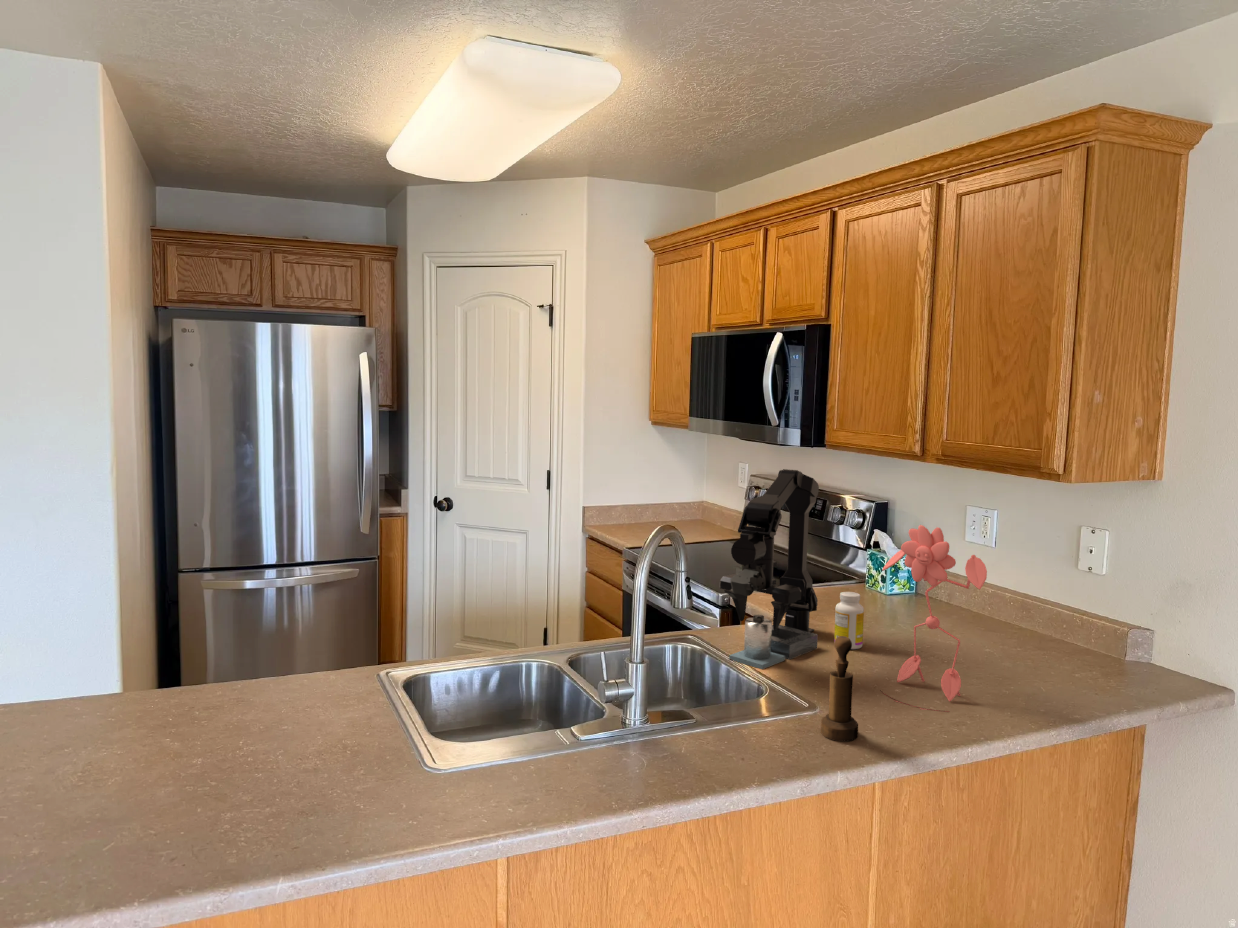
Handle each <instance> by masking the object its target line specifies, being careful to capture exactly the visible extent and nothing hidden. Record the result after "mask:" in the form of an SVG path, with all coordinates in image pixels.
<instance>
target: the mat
mask: <svg viewBox="0 0 1238 928" xmlns="http://www.w3.org/2000/svg"><path fill="white" fill-rule="evenodd" d="M728 659H732V660H731V661H733V660H734V661H733V662H736V661H737V663H739V662H740V664H743V665H747V666H750V667H754V668H757V669H760V670H764V669H766V668H769V667H771V666H774V665H777V664H779V663H781V662H784V661H785V660H786V659H785V656H783V655H780V654H776V653H773V652H771V657H770V658H769V659H765V660H755V659H750V658H747V657H745V656H744V649H743V650H741V651H737V652H734V653H732V654H729V657H728Z"/></svg>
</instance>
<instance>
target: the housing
mask: <svg viewBox="0 0 1238 928" xmlns="http://www.w3.org/2000/svg"><path fill="white" fill-rule="evenodd" d="M818 636H819V634H818V633H814V632H811V633H810V632H806V631H802V630H798V629H795V628H791V627H787V626H785V625H782V624H780V625H779V627H778V629H776V630H774V629H773V624H772V633H771V652H773V653H776V654H780V655H783V656H785V660H792V659H794V658H797V657H801V656H802V655H804V654H807V653H809V652H812V651H815V650H817V649H818Z"/></svg>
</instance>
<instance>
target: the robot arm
mask: <svg viewBox="0 0 1238 928" xmlns="http://www.w3.org/2000/svg"><path fill="white" fill-rule="evenodd" d="M819 487H820V486H819V483H818V482H817V481H816V479H814V478H813V477H811V476H808V475H807V474H803V472H802V471H800V470H798V469H787V468H783V469H780V470H778V473H777V477H776V478H775V479H774V481H773V482H772V483H771V484H770V486H769V487H768V488H767V490H766V491H765V492H764V494H763V495H760V496H757V497H754V498H753V499H751V500H750V501H749V502H748V503H747V505H745V507H744V508H743V512H742V515H741V519H740V521H739V526H738V529H737V533H738V534H739V535H740V536H739V539H737V540H735V541H734V543H733V544H732V546H731V548H730V554H731V557H732V559H733V560H734V561H735V562H736V563H737V564H738V565H740V566H741V565H742V566H743V567H742V570H741V571H738V572H737V573H730V574H727V575H722V577H721V578H720V580H719V589H721V590H723V591H724V593H725V594H727V595H728V596H730V597H731V600H732V601H733V604H734V606H735V610H736V612H737V613H736V614H737V617H738V620H739V622H743V621H745V620H744V619H745V616H746V612H747V611H746V610H747V602H748V597H749V596H751V595H752V594H753V593H754V592H758V593H763V594H767V595H771V597H772V599H773V601H770V603H771V605H772V608H773V615H772V625H773V629H774V630H776V629H778V627H779V625H781V622H782V621H783V618H784V626H787V627H791V628H795V629H798V630H802V631H806V632H810V633H814V632H815V629H814V628H810V613H811V612H817V610H818V601H819V600H818V596H817V594H816V592H815V589H814V587H813V579H812V576H811V575H810V573H809V571H808V569H807V563H808V561H807V560H808V543H809V541H808V539H809V538H808V537H809V517H810V516H809V515H810V511H811V510H812V509H813V507H814V506H815V504H816V502H817V497H818V495H819V492H820V491H819V490H820V489H819ZM784 504H785V507H786V508H787V510H788V512H789V520H788V521H789V522H788V523H789V524H788V545H787V547H788V548H787V566H786V567H787V568H786V570H785V572H784V573H783V575H782V576H781V577H780V578H779V585H778V586H774V585H776V584H777V579H775V578H774V567H777V563H778V562H777V561H774V554H775V553H774V552H775V536H776V535H777V532H778V528H779V526H780V523H781V521H782V517H783V515H782V511H781V509H782V507H783V506H784Z"/></svg>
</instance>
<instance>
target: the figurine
mask: <svg viewBox="0 0 1238 928" xmlns="http://www.w3.org/2000/svg"><path fill="white" fill-rule="evenodd" d="M908 536H909V538H910V540H907V541H905V542H903V543H902V544H901V546H900V550H898V551H896V553H895V554H893V556H892V557H890V558H889V560H888V561H887V562H886V563H885V565H884V566H883V568H882V571H886V570H888V569H889V568H892V567H893V566H894V565H896V564H897V563H899V561H900V560H901V559H903V557H904V556H905V558H904V565H905V567H907V568H910V569H911V576H912V579H913V581H914V582H916V583H918V582H921V581H922V580H923V581H924V582H927V583H928V584H929V585H930V586H929V588H927V589H926V590H925V591H924V594H925V598H926V603H927V606H928V611H929V615H930V616H928V617H926V619H925V622H922V623H920V624H916V625H914V626H913V655H912V656H910V657H909V658H907V659H906V660H905V661H904V663H902V665H901V667H900V668H899V670H898V675H897V678H896V679H897V680H896V682H897V683H900V682H904V681H906V680H908V679H910V678H911V677H912V676H914V675H915V674H916V673H917V671H918V673H919V677H920V680H921V682H922V683H924V682H925V681H926V680H925V678H924V675H923V672H922V669H921V667H920V665H921V663H922V660H921V658H922V657H921V656H920V655H919V654H917V630H916V628H918V627H921V626H924V625H925V626H927V628H929V630H930V629H931V630H936V629H939V630H940V631H942V632H943V633H945V634H947V635H949V636H950V637H952V638H953V639H955V640H956V641H958V642H957V645H956V650H955V655H954V658H953V663H952V667H950V668H947V669H945V671H944V673H943V674H942V676H941V678H940V679H941V681H940V685H941V691H942V692H943V693H944V695H945V697H946V699H947V700H948V702H951V701H952V700H953V699H954V698H956V696H957V697H961V692H960V689H961V686H962V679H961V676H960V674H959V672H958V671H957V670H956V669H955V665H956V661H957V658H958V653H959V649H960V646H961V639H959V638H957V637H956V636H955V635H953V634H952V633H949V632H948V631H946V630H945V629H943V628H942V627H940V625H941V623H940V622H941V621H940V619H939V618H938V617H937V616H935V615H933V613H932V607H931V602H930V597H929V592H930V591H932V590H933V589H934V588H936V587H937V586H939V585H940V584H941V583H943V582H945V583H946V582H948V583H950V584H953V585H956V586H958V587H961V588H965V589H967V590H969V587H970V585H971V584H972V585H973V586H974V587H976V589H978V590H981V589H982V588H983V586H984V585H985V582H986V580H987V578H988V577H987V576H988V571H987V567H986V564H985V563H984V562H983V560H982V559H981V557H980V558H979V557H977V555H975V554H972V555H971V556H970V558H968V559H967V560H966V564H965V567H964V568H965V569H964V571H965V575H966V577H967V581H966V584H963V583H960V582H957V581H954V580H951V579H948V577H949V576H948V573H947V570H950V569H953V568H954V567H955V566H956V561H957V560H956V559H955V558H954V557H953V556H952V555H950V554H949V552H950V543H949V542H948V541H945V538H944V537H945V536H944V533H943V530H942V529H941V527H938V526H936V527H935V528H934V529H933V530H932V531H931V533H930V531H929V529H928V528H927V527H925V525H922V524H920V525H918V529H917V528H909V529H908ZM880 692H881V693H882V694H884V695H885V696H886V697H888V698H890V699H892V700H893V701H895V702H897V703H899V704H900V703H901V704H903V705H906V706H910V707H914V708H918V709H920V710H925V711H926V710H928V711H936V712H941V710H939V709H931V708H925V707H919V706H917V705H912V704H908V703H906V702H902V701H900V700H897V699H895V698H893V697H891V696H889V695H887V694H886V693H884V692H883V691H882V690H880ZM942 712H943V713H944V712H945V713H950V712H951V711H950V710H942Z"/></svg>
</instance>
